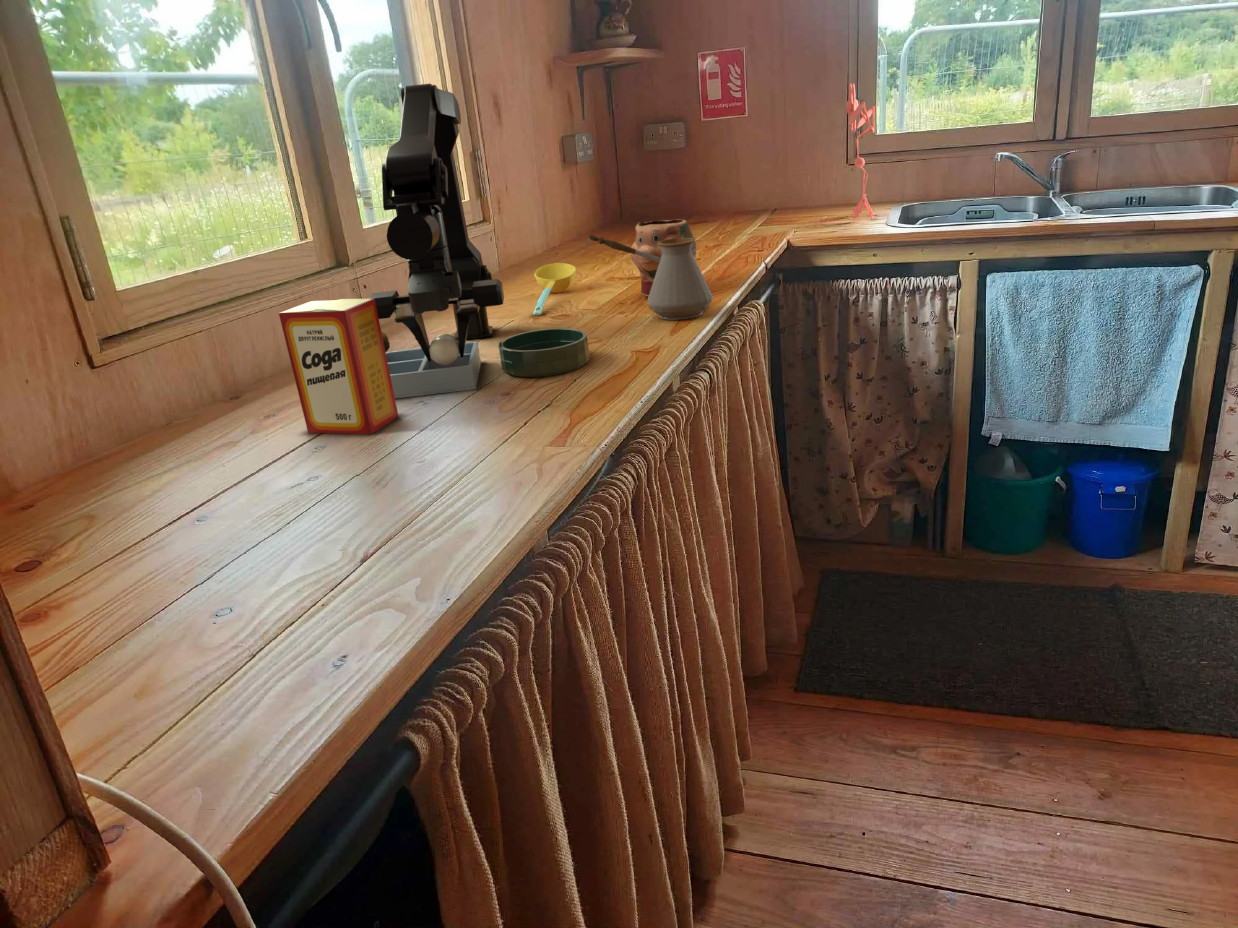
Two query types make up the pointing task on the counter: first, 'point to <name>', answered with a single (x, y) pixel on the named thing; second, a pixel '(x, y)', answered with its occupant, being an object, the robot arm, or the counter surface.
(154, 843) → the counter surface
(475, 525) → the counter surface
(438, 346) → the egg
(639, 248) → the decorative planter
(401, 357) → the divided tray
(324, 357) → the baking soda box
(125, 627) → the counter surface
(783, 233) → the counter surface
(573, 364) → the bowl
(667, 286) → the coffee pot
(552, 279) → the ladle
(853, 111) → the figurine
